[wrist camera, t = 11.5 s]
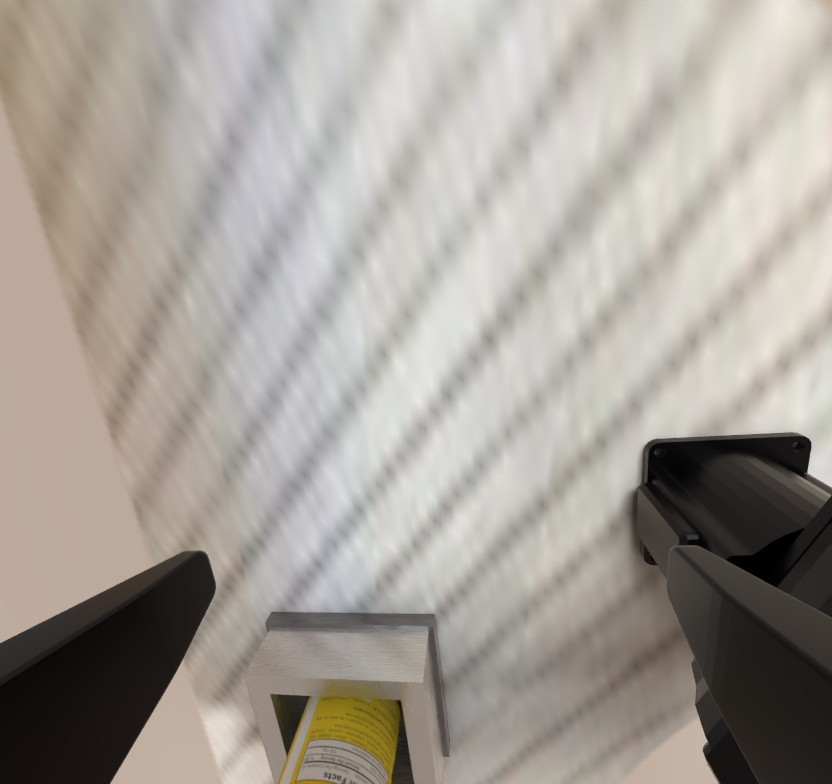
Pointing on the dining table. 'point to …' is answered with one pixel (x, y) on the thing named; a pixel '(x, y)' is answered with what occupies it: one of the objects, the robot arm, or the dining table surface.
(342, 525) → the dining table surface
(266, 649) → the socket collar
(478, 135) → the dining table surface
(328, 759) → the supplement bottle
